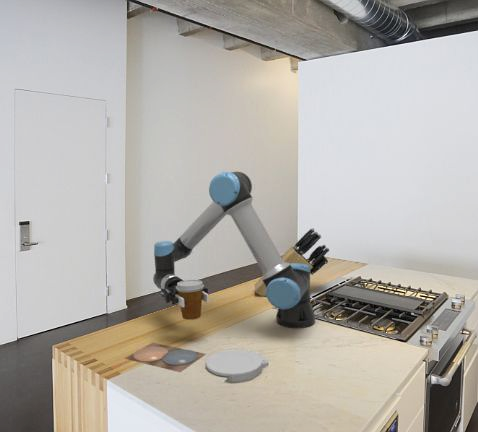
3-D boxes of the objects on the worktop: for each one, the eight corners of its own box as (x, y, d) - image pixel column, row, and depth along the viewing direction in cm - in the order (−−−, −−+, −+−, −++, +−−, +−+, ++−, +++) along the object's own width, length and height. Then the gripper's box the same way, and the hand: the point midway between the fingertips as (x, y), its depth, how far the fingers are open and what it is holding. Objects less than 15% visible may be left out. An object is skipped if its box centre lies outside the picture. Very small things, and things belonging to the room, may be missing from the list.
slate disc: (204, 354, 141) (204, 353, 141) (183, 368, 131) (183, 367, 131) (176, 348, 146) (176, 347, 146) (155, 361, 137) (154, 360, 137)
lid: (281, 370, 132) (281, 361, 132) (224, 390, 122) (223, 379, 121) (249, 351, 147) (249, 342, 146) (196, 367, 136) (195, 357, 136)
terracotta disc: (175, 351, 144) (175, 349, 144) (153, 364, 135) (153, 363, 134) (149, 345, 149) (148, 344, 149) (126, 358, 140) (126, 356, 140)
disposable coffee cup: (178, 313, 156) (176, 280, 155) (205, 311, 157) (203, 278, 156) (176, 322, 147) (174, 287, 146) (205, 320, 148) (203, 285, 146)
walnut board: (206, 358, 141) (206, 353, 141) (180, 377, 129) (180, 372, 129) (152, 346, 152) (152, 342, 152) (124, 362, 140) (123, 358, 140)
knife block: (330, 295, 206) (330, 230, 202) (255, 297, 206) (253, 232, 203) (326, 288, 217) (325, 226, 214) (254, 290, 218) (253, 228, 214)
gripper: (199, 291, 172) (224, 306, 152) (147, 300, 163) (166, 317, 143) (198, 272, 171) (223, 285, 151) (145, 280, 162) (164, 295, 142)
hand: (195, 300), depth 147 cm, fingers closed on disposable coffee cup, 8 cm apart
